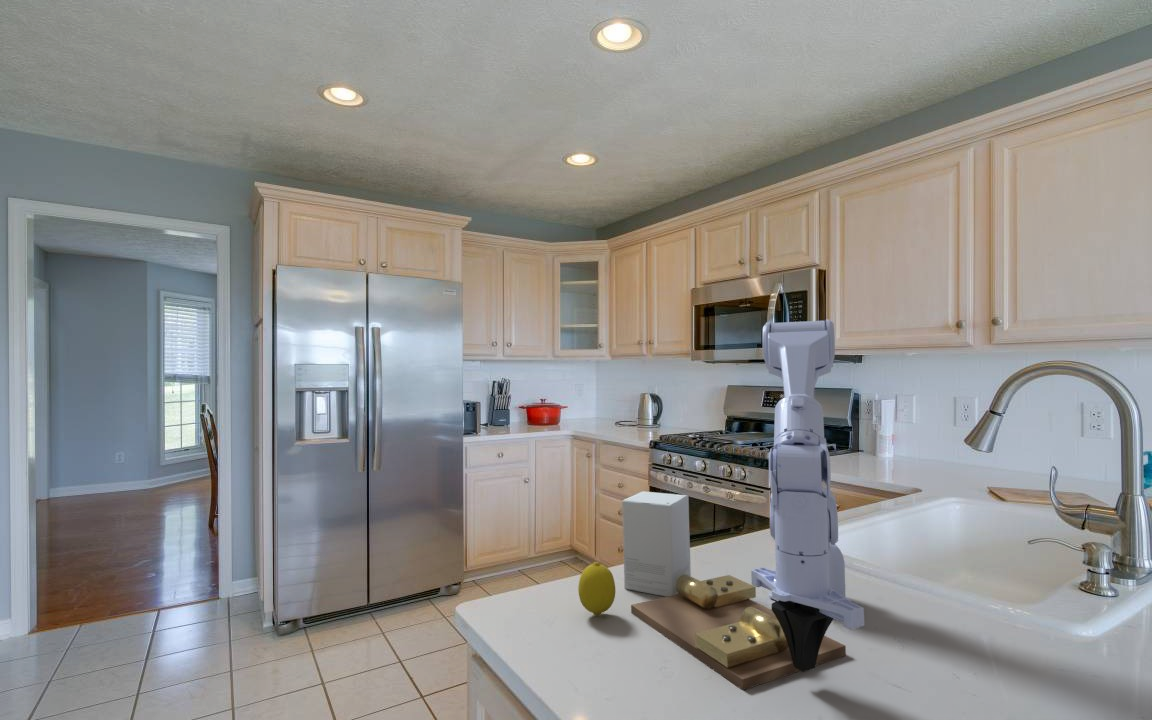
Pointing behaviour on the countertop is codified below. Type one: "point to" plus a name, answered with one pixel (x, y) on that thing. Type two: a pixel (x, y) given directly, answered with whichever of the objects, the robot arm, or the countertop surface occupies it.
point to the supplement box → (655, 542)
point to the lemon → (596, 588)
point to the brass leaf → (743, 639)
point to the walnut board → (689, 618)
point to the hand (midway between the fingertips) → (804, 667)
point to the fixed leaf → (714, 590)
